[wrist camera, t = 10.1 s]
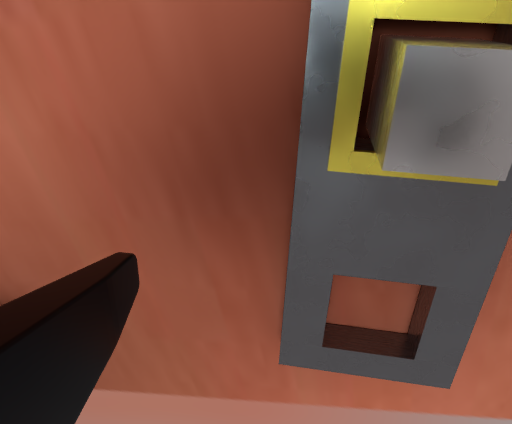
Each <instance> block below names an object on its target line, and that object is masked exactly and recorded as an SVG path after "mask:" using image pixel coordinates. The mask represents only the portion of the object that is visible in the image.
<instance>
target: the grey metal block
mask: <svg viewBox="0 0 512 424" xmlns="http://www.w3.org/2000/svg"><path fill="white" fill-rule="evenodd" d="M366 128H367V131H368V134H369V137H370V139H371V142H372V145H373V147H374V150H375V153H376V155H377V158H378V161H379V163H380V166H381V169H382V170H383V171H394V172H406V173H418V174H429V175H441V176H452V177H464V178H475V179H487V180H498V181H506V178H507V175H508V172H509V169H510V167H511V164H512V45H510V44H505V43H499V42H494V41H488V40H483V39H473V38H452V37H431V36H409V35H388V34H381V36H380V42H379V48H378V54H377V60H376V66H375V72H374V78H373V84H372V90H371V96H370V102H369V108H368V114H367V120H366Z"/></svg>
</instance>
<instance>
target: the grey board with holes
mask: <svg viewBox="0 0 512 424" xmlns="http://www.w3.org/2000/svg"><path fill="white" fill-rule="evenodd" d="M375 18H382V19H405V20H428V21H451V22H475V23H498V24H497V27H496V31H495V34H494V38H493V41H494V42H499V43H505V44H510V45H512V0H312V2H311V13H310V24H309V35H308V46H307V57H306V68H305V80H304V91H303V102H302V113H301V124H300V135H299V146H298V157H297V168H296V179H295V191H294V202H293V213H292V224H291V235H290V246H289V257H288V268H287V279H286V290H285V302H284V313H283V324H282V335H281V346H280V357H279V364H283V365H290V366H297V367H303V368H310V369H317V370H324V371H331V372H337V373H344V374H351V375H358V376H365V377H372V378H378V379H385V380H392V381H399V382H406V383H413V384H419V385H426V386H433V387H440V388H447V389H450V386H451V384H452V381H453V379H454V376H455V374H456V371H457V368H458V366H459V363H460V361H461V358H462V356H463V353H464V350H465V348H466V345H467V343H468V340H469V338H470V335H471V333H472V330H473V327H474V325H475V322H476V320H477V317H478V315H479V312H480V310H481V307H482V304H483V302H484V299H485V297H486V294H487V292H488V289H489V287H490V284H491V281H492V279H493V276H494V274H495V271H496V269H497V266H498V264H499V261H500V258H501V256H502V253H503V251H504V248H505V246H506V243H507V240H508V238H509V235H510V233H511V230H512V164H511V167H510V169H509V172H508V175H507V178H506V181H498V180H487V179H475V178H464V177H452V176H441V175H429V174H418V173H406V172H394V171H383V170H382V169H381V166H380V163H379V161H378V158H377V155H376V153H375V150H374V147H373V145H372V142H371V139H370V138H363V137H356V132H357V126H358V120H359V113H360V107H361V101H362V94H363V88H364V82H365V75H366V69H367V63H368V57H369V50H370V44H371V38H372V31H373V25H374V19H375ZM333 274H334V275H342V276H351V277H359V278H368V279H376V280H385V281H393V282H402V283H410V284H419V285H422V286H421V289H420V293H419V296H418V299H417V303H416V306H415V310H414V313H413V317H412V320H411V324H410V327H409V331H408V334H402V333H395V332H387V331H380V330H372V329H365V328H357V327H350V326H342V325H334V324H327V323H326V318H327V311H328V305H329V299H330V292H331V286H332V280H333Z"/></svg>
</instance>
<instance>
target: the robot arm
mask: <svg viewBox="0 0 512 424" xmlns="http://www.w3.org/2000/svg"><path fill="white" fill-rule="evenodd" d="M138 289H139V274H138V265H137V258H136V256H135V255H134V254H132V253H123V252H118V253H115V254H113V255H111V256H109V257H106V258H104V259H102V260H100V261H98V262H96V263H93V264H91V265H89V266H87V267H85V268H82V269H80V270H78V271H76V272H74V273H72V274H69V275H67V276H65V277H63V278H61V279H58V280H56V281H54V282H52V283H50V284H48V285H45V286H43V287H41V288H39V289H37V290H35V291H32V292H30V293H28V294H26V295H24V296H21V297H19V298H17V299H15V300H13V301H11V302H8V303H6V304H4V305H2V306H0V424H75V422H76V420H77V418H78V416H79V415H80V413H81V411H82V409H83V407H84V405H85V403H86V402H87V400H88V398H89V396H90V394H91V392H92V390H93V388H94V387H95V385H96V383H97V381H98V379H99V377H100V375H101V373H102V372H103V370H104V368H105V366H106V364H107V362H108V360H109V358H110V357H111V355H112V353H113V351H114V349H115V347H116V345H117V342H118V340H119V338H120V335H121V333H122V330H123V328H124V325H125V323H126V320H127V318H128V315H129V313H130V310H131V308H132V305H133V302H134V300H135V297H136V295H137V292H138Z"/></svg>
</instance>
